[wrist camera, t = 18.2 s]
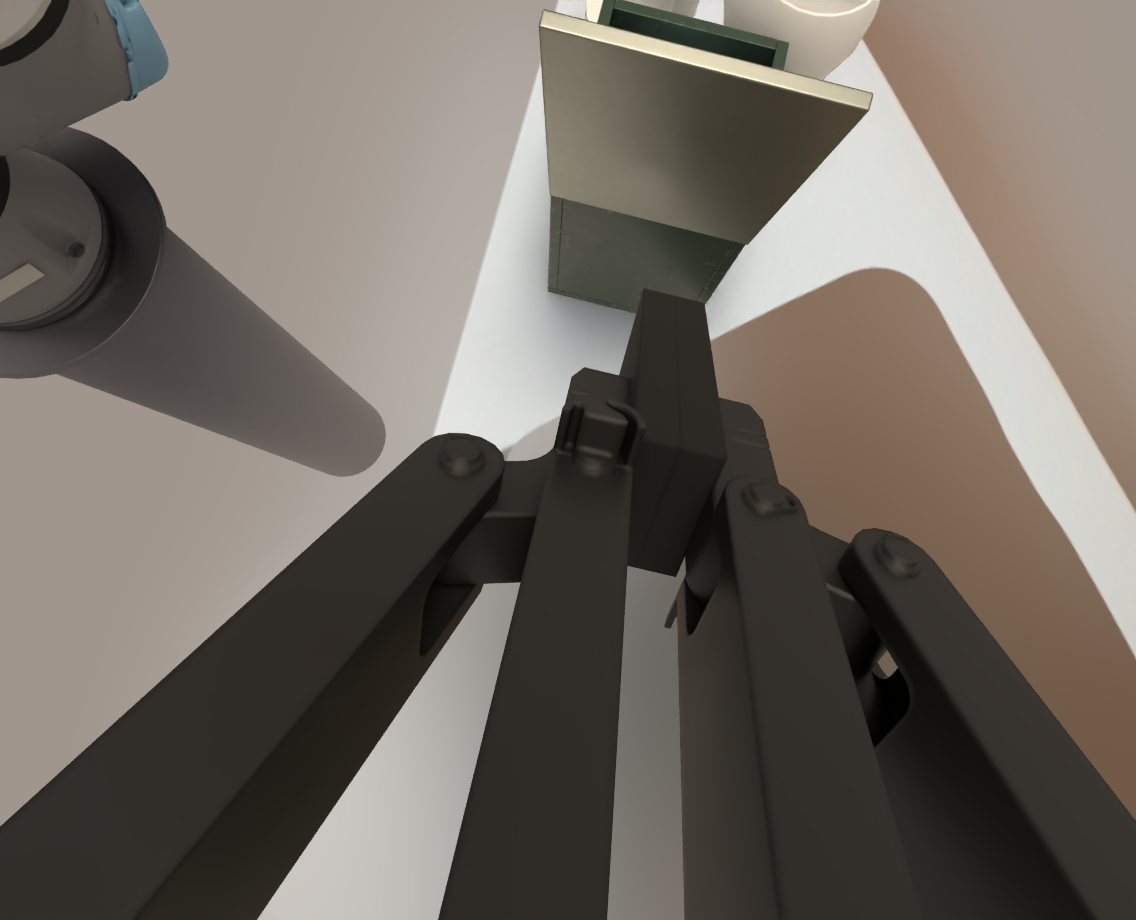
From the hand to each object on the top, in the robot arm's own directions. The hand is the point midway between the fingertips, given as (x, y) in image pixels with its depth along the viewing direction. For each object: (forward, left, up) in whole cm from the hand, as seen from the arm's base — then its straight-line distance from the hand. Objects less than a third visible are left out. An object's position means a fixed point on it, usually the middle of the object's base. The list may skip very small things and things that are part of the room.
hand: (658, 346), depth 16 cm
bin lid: (-11, +10, -13) cm, 20 cm away
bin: (-16, +16, -36) cm, 43 cm away
